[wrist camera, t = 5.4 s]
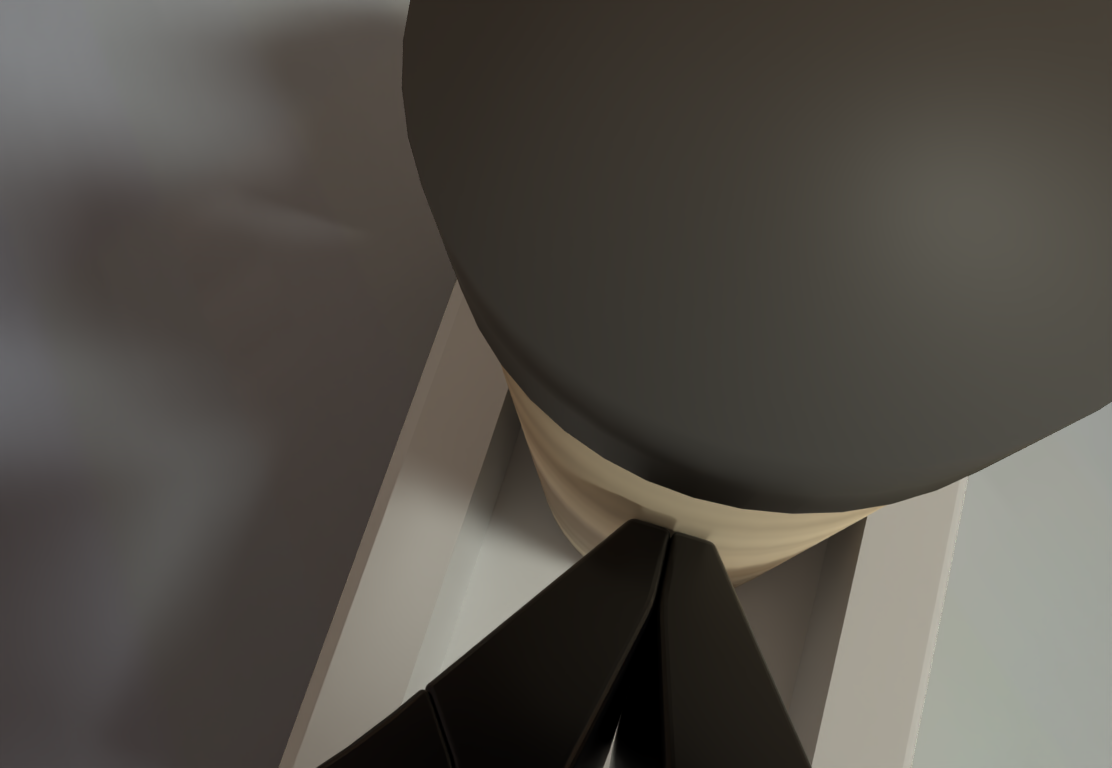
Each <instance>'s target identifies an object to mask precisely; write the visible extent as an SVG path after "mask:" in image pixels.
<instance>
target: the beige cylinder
mask: <svg viewBox="0 0 1112 768" xmlns="http://www.w3.org/2000/svg"><path fill="white" fill-rule="evenodd" d="M402 92H403V100H404V108H405V116H406V124H407V131H408V138H409V142H410V145H411V149H412V152H413V156H414V159H415V163H416V166H417V170H418V174H419V177H420V181H421V184H422V187H423V190H424V193H425V195H426V198H427V200H428V203H429V206H430V208H431V211H432V214H433V216H434V219H435V222H436V224H437V227H438V230H439V232H440V235H441V238H442V240H443V243H444V246H445V248H446V251H447V254H448V256H449V259H450V261H451V264H452V267H453V269H454V272H455V275H456V277H457V280H458V283H459V285H460V288H461V290H462V293H463V295H464V297H465V299H466V302H467V304H468V306H469V308H470V311H471V313H472V315H473V317H474V320H475V322H476V324H477V326H478V328H479V330H480V332H481V333H482V335H483V336H484V338H485V340H486V341H487V343H488V344H489V346H490V348H491V349H492V351H493V352H494V354H495V356H496V357H497V359H498V360H499V362H500V364H501V367H502V370H503V373H504V376H505V379H506V382H507V385H508V388H509V391H510V394H511V397H512V399H513V402H514V405H515V408H516V411H517V414H518V417H519V420H520V423H521V426H522V429H523V432H524V435H525V438H526V441H527V444H528V447H529V450H530V453H531V455H532V458H533V461H534V464H535V467H536V470H537V473H538V476H539V479H540V482H541V485H542V488H543V491H544V494H545V497H546V500H547V503H548V505H549V507H550V509H551V512H552V514H553V516H554V518H555V520H556V522H557V523H558V525H559V527H560V528H561V530H562V532H563V533H564V535H565V536H566V537H567V539H568V540H569V541H570V542H571V544H572V545H573V546H574V547H575V549H576V550H577V551H578V552H579V553H580V554H581V555H583V556H585V555H586V554H587V553H588V552H590V551H591V550H592V549H593V548H594V547H596V546H597V545H598V544H599V543H601V542H602V541H603V540H604V539H605V538H607V537H608V536H609V535H610V534H612V533H613V532H614V531H615V530H616V529H618V528H619V527H620V526H621V525H623V524H624V523H625V522H626V521H628V520H629V519H638V520H642V521H645V522H648V523H652V524H655V525H658V526H661V527H665V528H667V529H668V530H669V532H670V538H671V536H672V534H674V533H676V532H681V533H685V534H688V535H691V536H695V537H698V538H701V539H705V540H708V541H710V542H712V543H713V544H714V545H715V546H716V548H717V550H718V552H719V555H720V557H721V559H722V562H723V564H724V566H725V569H726V571H727V573H728V575H729V578H730V580H731V582H732V585H733V587H734V588H736V587H738V586H740V585H742V584H744V583H746V582H748V581H751V580H753V579H755V578H756V577H758V576H760V575H762V574H764V573H765V572H767V571H769V570H771V569H773V568H774V567H776V566H778V565H780V564H782V563H783V562H785V561H787V560H789V559H791V558H792V557H794V556H796V555H798V554H800V553H801V552H803V551H805V550H807V549H809V548H810V547H812V546H814V545H816V544H818V543H819V542H821V541H823V540H825V539H827V538H828V537H830V536H832V535H834V534H836V533H837V532H839V531H841V530H843V529H845V528H846V527H848V526H850V525H852V524H854V523H855V522H857V521H859V520H861V519H863V518H864V517H866V516H868V515H870V514H872V513H874V512H875V511H877V510H879V509H881V508H883V507H884V506H886V505H890V504H894V503H897V502H900V501H904V500H907V499H910V498H913V497H917V496H920V495H923V494H927V493H930V492H933V491H936V490H939V489H941V488H943V487H946V486H948V485H950V484H952V483H954V482H956V481H958V480H961V479H963V478H965V477H967V476H969V475H971V474H974V473H976V472H978V471H980V470H982V469H984V468H986V467H988V466H990V465H992V464H994V463H996V462H998V461H1000V460H1002V459H1004V458H1006V457H1008V456H1010V455H1012V454H1014V453H1016V452H1018V451H1019V450H1021V449H1023V448H1025V447H1027V446H1029V445H1031V444H1033V443H1035V442H1037V441H1039V440H1041V439H1043V438H1045V437H1047V436H1049V435H1051V434H1053V433H1055V432H1057V431H1059V430H1061V429H1063V428H1065V427H1067V426H1069V425H1071V424H1072V423H1074V422H1076V421H1078V420H1080V419H1082V418H1084V417H1086V416H1088V415H1090V414H1092V413H1094V412H1096V411H1098V410H1100V409H1101V408H1103V407H1104V406H1106V405H1107V404H1109V403H1110V402H1112V0H410V5H409V11H408V16H407V22H406V28H405V33H404V39H403V70H402Z"/></svg>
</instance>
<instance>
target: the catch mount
mask: <svg viewBox="0 0 1112 768" xmlns="http://www.w3.org/2000/svg"><path fill="white" fill-rule="evenodd" d="M968 477H969V476H967V477H965V478H963V479H961V480H958V481H956V482H954V483H952V484H950V485H948V486H946V487H943V488H941V489H939V490H936V491H933V492H930V493H927V494H923V495H920V496H917V497H913V498H910V499H907V500H904V501H900V502H897V503H894V504H890V505H886V506H884V507H883V508H881V509H879V510H877V511H875V512H874V513H872V514H870V515H868V516H866V517H864V518H863V519H861V520H859V521H857V522H855V523H854V524H852V525H850V526H848V527H846V528H845V529H843V530H841V531H839V532H837V533H836V534H834V535H832V536H830V537H828V538H827V539H825V540H823V541H821V542H819V543H818V544H816V545H814V546H812V547H810V548H809V549H807V550H805V551H803V552H801V553H800V554H798V555H796V556H794V557H792V558H791V559H789V560H787V561H785V562H783V563H782V564H780V565H778V566H776V567H774V568H773V569H771V570H769V571H767V572H765V573H764V574H762V575H760V576H758V577H756V578H755V579H753V580H751V581H748V582H746V583H744V584H742V585H740V586H738V587H736V588H734V589H735V592H736V594H737V596H738V598H739V601H740V603H741V605H742V608H743V610H744V612H745V615H746V617H747V619H748V621H749V624H750V626H751V628H752V631H753V633H754V635H755V638H756V640H757V642H758V644H759V647H760V649H761V651H762V654H763V656H764V658H765V661H766V663H767V665H768V668H769V670H770V672H771V674H772V677H773V679H774V681H775V684H776V686H777V688H778V691H779V693H780V695H781V697H782V700H783V702H784V704H785V707H786V709H787V711H788V714H789V716H790V718H791V720H792V723H793V725H794V727H795V730H796V732H797V734H798V737H799V739H800V741H801V743H802V746H803V748H804V750H805V753H806V755H807V757H808V760H809V762H810V764H811V766H812V768H911V767H912V762H913V757H914V752H915V747H916V742H917V737H918V732H919V727H920V722H921V717H922V711H923V706H924V701H925V696H926V691H927V686H928V681H929V676H930V671H931V666H932V661H933V656H934V650H935V645H936V640H937V635H938V630H939V625H940V620H941V615H942V610H943V605H944V600H945V594H946V589H947V584H948V579H949V574H950V569H951V564H952V559H953V554H954V549H955V544H956V539H957V533H958V528H959V523H960V518H961V513H962V508H963V503H964V498H965V493H966V488H967V483H968ZM582 557H583V555H581V554H580V553H579V552H578V551H577V550H576V549H575V547H574V546H573V545H572V544H571V542H570V541H569V540H568V539H567V537H566V536H565V535H564V533H563V532H562V530H561V528H560V527H559V525H558V523H557V522H556V520H555V518H554V516H553V514H552V512H551V509H550V507H549V505H548V503H547V500H546V497H545V494H544V491H543V488H542V485H541V482H540V479H539V476H538V473H537V470H536V467H535V464H534V461H533V458H532V455H531V453H530V450H529V447H528V444H527V441H526V438H525V435H524V432H523V429H522V426H521V423H520V420H519V417H518V414H517V411H516V408H515V405H514V402H513V399H512V397H511V394H510V391H509V388H508V385H507V382H506V379H505V376H504V373H503V370H502V367H501V364H500V362H499V360H498V359H497V357H496V356H495V354H494V352H493V351H492V349H491V348H490V346H489V344H488V343H487V341H486V340H485V338H484V336H483V335H482V333H481V332H480V330H479V328H478V326H477V324H476V322H475V320H474V317H473V315H472V313H471V311H470V308H469V306H468V304H467V302H466V299H465V297H464V295H463V293H462V290H461V288H460V285H459V283H458V280H456V282H455V285H454V288H453V291H452V293H451V296H450V299H449V302H448V304H447V307H446V310H445V312H444V315H443V318H442V321H441V323H440V326H439V329H438V332H437V334H436V337H435V340H434V343H433V345H432V348H431V351H430V354H429V356H428V359H427V362H426V365H425V367H424V370H423V373H422V376H421V378H420V381H419V384H418V387H417V389H416V392H415V395H414V397H413V400H412V403H411V406H410V408H409V411H408V414H407V417H406V419H405V422H404V425H403V428H402V430H401V433H400V436H399V439H398V441H397V444H396V447H395V450H394V452H393V455H392V458H391V461H390V463H389V466H388V469H387V472H386V474H385V477H384V480H383V482H382V485H381V488H380V491H379V493H378V496H377V499H376V502H375V504H374V507H373V510H372V513H371V515H370V518H369V521H368V524H367V526H366V529H365V532H364V535H363V537H362V540H361V543H360V546H359V548H358V551H357V554H356V557H355V559H354V562H353V565H352V567H351V570H350V573H349V576H348V578H347V581H346V584H345V587H344V589H343V592H342V595H341V598H340V600H339V603H338V606H337V609H336V611H335V614H334V617H333V620H332V622H331V625H330V628H329V631H328V633H327V636H326V639H325V641H324V644H323V647H322V650H321V652H320V655H319V658H318V661H317V663H316V666H315V669H314V672H313V674H312V677H311V680H310V683H309V685H308V688H307V691H306V694H305V696H304V699H303V702H302V705H301V707H300V710H299V713H298V716H297V718H296V721H295V724H294V726H293V729H292V732H291V735H290V737H289V740H288V743H287V746H286V748H285V751H284V754H283V757H282V759H281V762H280V765H279V768H316V767H318V766H319V765H321V764H322V763H324V762H325V761H327V760H328V759H330V758H331V757H333V756H334V755H336V754H337V753H339V752H340V751H342V750H343V749H345V748H346V747H348V746H349V745H350V744H352V743H353V742H354V741H356V740H357V739H358V738H360V737H361V736H362V735H363V734H365V733H366V732H367V731H369V730H370V729H371V728H373V727H374V726H375V725H377V724H378V723H379V722H381V721H382V720H383V719H385V718H386V717H387V716H388V715H390V714H391V713H392V712H394V711H395V710H396V709H397V708H398V707H400V706H401V705H402V704H403V703H404V702H406V701H407V700H408V699H409V698H411V697H412V696H413V695H414V694H415V693H417V692H418V691H419V690H421V689H424V690H425V688H426V685H427V684H428V683H429V682H431V681H432V680H433V679H434V678H436V677H437V676H438V675H439V674H440V673H442V672H443V671H444V670H445V669H447V668H448V667H449V666H450V665H451V664H453V663H454V662H455V661H456V660H458V659H459V658H460V657H461V656H462V655H464V654H465V653H466V652H467V651H469V650H470V649H471V648H472V647H473V646H475V645H476V644H477V643H478V642H480V641H481V640H482V639H483V638H484V637H486V636H487V635H488V634H489V633H491V632H492V631H493V630H494V629H495V628H497V627H498V626H499V625H500V624H502V623H503V622H504V621H505V620H506V619H508V618H509V617H510V616H511V615H513V614H514V613H515V612H516V611H517V610H519V609H520V608H521V607H522V606H524V605H525V604H526V603H527V602H528V601H530V600H531V599H532V598H533V597H535V596H536V595H537V594H538V593H539V592H541V591H542V590H543V589H544V588H546V587H547V586H548V585H549V584H550V583H552V582H553V581H554V580H555V579H557V578H558V577H559V576H560V575H561V574H563V573H564V572H565V571H566V570H568V569H569V568H570V567H571V566H572V565H574V564H575V563H576V562H577V561H579V560H580V559H581V558H582ZM617 727H618V726H617ZM616 731H617V729H616ZM615 735H616V732H615ZM615 735H614V739H613V742H612V745H611V748H610V751H609V754H608V757H607V759H606V762H605V765H604V767H603V768H609V766H610V760H611V754H612V748H613V744H614V740H615Z"/></svg>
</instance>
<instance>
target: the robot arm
mask: <svg viewBox="0 0 1112 768" xmlns="http://www.w3.org/2000/svg"><path fill="white" fill-rule="evenodd" d="M617 726H618V727H617ZM616 729H617V731H616ZM615 732H616V735H615ZM614 735H615V740H614V744H613V748H612V754H611V760H610V766H609V768H812V766H811V764H810V762H809V760H808V757H807V755H806V753H805V750H804V748H803V746H802V743H801V741H800V739H799V737H798V734H797V732H796V730H795V727H794V725H793V723H792V720H791V718H790V716H789V714H788V711H787V709H786V707H785V704H784V702H783V700H782V697H781V695H780V693H779V691H778V688H777V686H776V684H775V681H774V679H773V677H772V674H771V672H770V670H769V668H768V665H767V663H766V661H765V658H764V656H763V654H762V651H761V649H760V647H759V644H758V642H757V640H756V638H755V635H754V633H753V631H752V628H751V626H750V624H749V621H748V619H747V617H746V615H745V612H744V610H743V608H742V605H741V603H740V601H739V598H738V596H737V594H736V592H735V589H734V587H733V585H732V582H731V580H730V578H729V575H728V573H727V571H726V569H725V566H724V564H723V562H722V559H721V557H720V555H719V552H718V550H717V548H716V546H715V545H714V544H713V543H712V542H710V541H708V540H705V539H701V538H698V537H695V536H691V535H688V534H685V533H681V532H676V533H674V534H672V536H671V538H670V532H669V530H668V529H667V528H665V527H661V526H658V525H655V524H652V523H648V522H645V521H642V520H638V519H629V520H628V521H626V522H625V523H624V524H623V525H621V526H620V527H619V528H618V529H616V530H615V531H614V532H613V533H612V534H610V535H609V536H608V537H607V538H605V539H604V540H603V541H602V542H601V543H599V544H598V545H597V546H596V547H594V548H593V549H592V550H591V551H590V552H588V553H587V554H586V555H585V556H583V557H582V558H581V559H580V560H579V561H577V562H576V563H575V564H574V565H572V566H571V567H570V568H569V569H568V570H566V571H565V572H564V573H563V574H561V575H560V576H559V577H558V578H557V579H555V580H554V581H553V582H552V583H550V584H549V585H548V586H547V587H546V588H544V589H543V590H542V591H541V592H539V593H538V594H537V595H536V596H535V597H533V598H532V599H531V600H530V601H528V602H527V603H526V604H525V605H524V606H522V607H521V608H520V609H519V610H517V611H516V612H515V613H514V614H513V615H511V616H510V617H509V618H508V619H506V620H505V621H504V622H503V623H502V624H500V625H499V626H498V627H497V628H495V629H494V630H493V631H492V632H491V633H489V634H488V635H487V636H486V637H484V638H483V639H482V640H481V641H480V642H478V643H477V644H476V645H475V646H473V647H472V648H471V649H470V650H469V651H467V652H466V653H465V654H464V655H462V656H461V657H460V658H459V659H458V660H456V661H455V662H454V663H453V664H451V665H450V666H449V667H448V668H447V669H445V670H444V671H443V672H442V673H440V674H439V675H438V676H437V677H436V678H434V679H433V680H432V681H431V682H429V683H428V684H427V685H426V688H425V690H424V689H421V690H419V691H418V692H417V693H415V694H414V695H413V696H412V697H411V698H409V699H408V700H407V701H406V702H404V703H403V704H402V705H401V706H400V707H398V708H397V709H396V710H395V711H394V712H392V713H391V714H390V715H388V716H387V717H386V718H385V719H383V720H382V721H381V722H379V723H378V724H377V725H375V726H374V727H373V728H371V729H370V730H369V731H367V732H366V733H365V734H363V735H362V736H361V737H360V738H358V739H357V740H356V741H354V742H353V743H352V744H350V745H349V746H348V747H346V748H345V749H343V750H342V751H340V752H339V753H337V754H336V755H334V756H333V757H331V758H330V759H328V760H327V761H325V762H324V763H322V764H321V765H319V766H318V767H316V768H603V767H604V765H605V762H606V759H607V757H608V754H609V751H610V748H611V745H612V742H613V739H614Z"/></svg>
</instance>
